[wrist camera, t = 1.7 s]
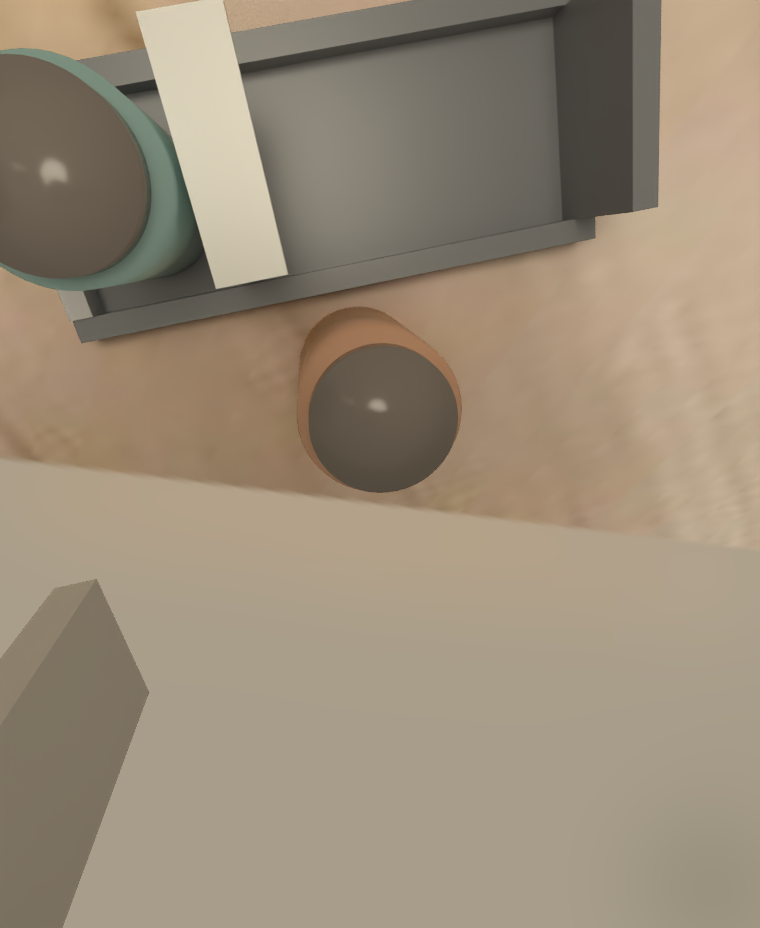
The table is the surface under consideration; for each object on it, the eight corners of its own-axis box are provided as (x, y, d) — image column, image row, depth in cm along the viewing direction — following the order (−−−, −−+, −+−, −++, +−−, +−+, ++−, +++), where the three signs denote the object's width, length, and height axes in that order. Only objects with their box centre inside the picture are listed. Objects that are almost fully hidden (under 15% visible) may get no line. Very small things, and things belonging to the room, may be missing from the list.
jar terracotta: (314, 433, 29) (318, 518, 19) (286, 320, 26) (276, 356, 17) (423, 409, 29) (478, 482, 20) (405, 295, 27) (457, 318, 17)
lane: (96, 337, 26) (30, 364, 19) (1, 91, 22) (-118, 29, 16) (577, 239, 27) (657, 235, 21) (567, -11, 23) (663, -106, 17)
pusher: (241, 278, 25) (216, 289, 18) (190, 89, 22) (135, 11, 15) (293, 268, 25) (287, 274, 18) (248, 78, 22) (222, -4, 15)
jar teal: (100, 290, 24) (-26, 312, 15) (44, 139, 22) (-144, 57, 13) (231, 263, 25) (187, 270, 15) (190, 112, 22) (108, 13, 13)
